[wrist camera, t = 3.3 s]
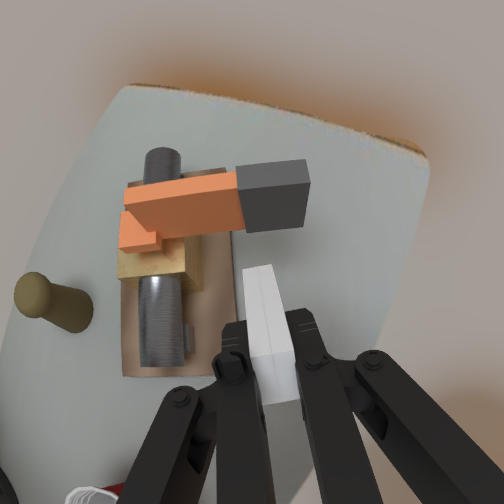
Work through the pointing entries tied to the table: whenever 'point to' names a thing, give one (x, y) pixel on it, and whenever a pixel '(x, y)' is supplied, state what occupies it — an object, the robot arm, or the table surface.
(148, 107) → the table surface
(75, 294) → the cork
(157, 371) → the mounting board
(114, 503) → the plastic cup
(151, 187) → the valve lever
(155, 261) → the valve body
